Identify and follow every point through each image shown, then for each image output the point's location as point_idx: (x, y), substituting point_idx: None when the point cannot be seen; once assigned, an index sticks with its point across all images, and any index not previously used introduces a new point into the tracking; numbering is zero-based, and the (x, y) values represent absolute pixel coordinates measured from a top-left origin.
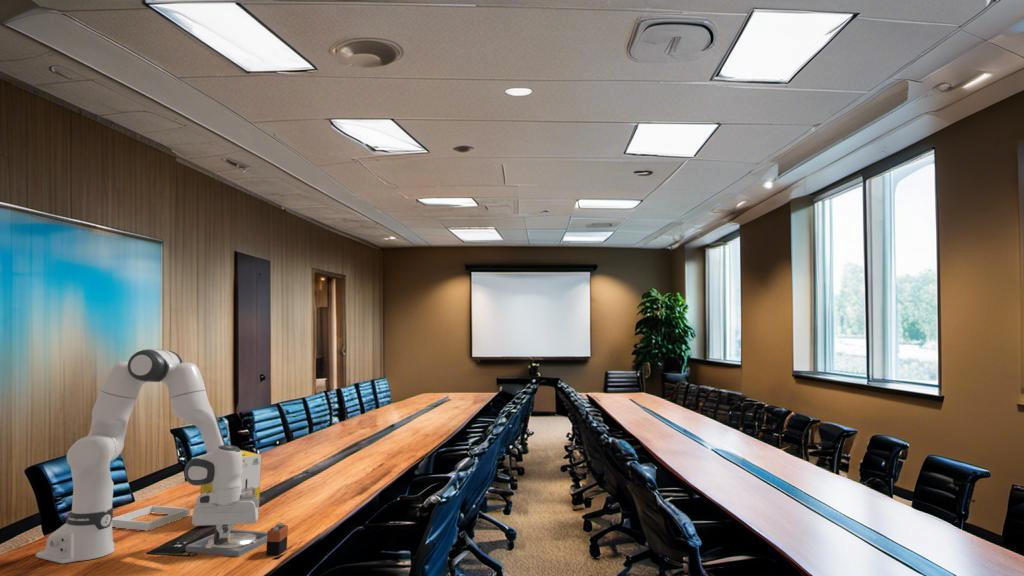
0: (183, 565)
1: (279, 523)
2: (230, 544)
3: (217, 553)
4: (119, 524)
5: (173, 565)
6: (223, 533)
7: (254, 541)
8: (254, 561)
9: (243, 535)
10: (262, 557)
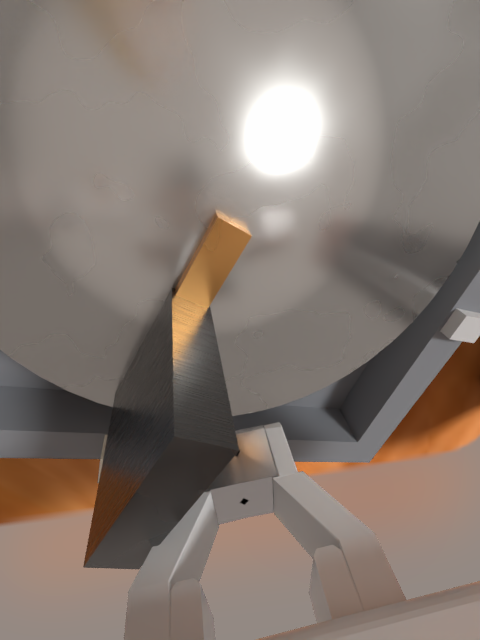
0: (75, 495)
1: None
2: (274, 375)
3: None
4: None
5: (15, 505)
6: (239, 516)
7: (477, 331)
8: (420, 408)
9: (338, 10)
10: (462, 359)
